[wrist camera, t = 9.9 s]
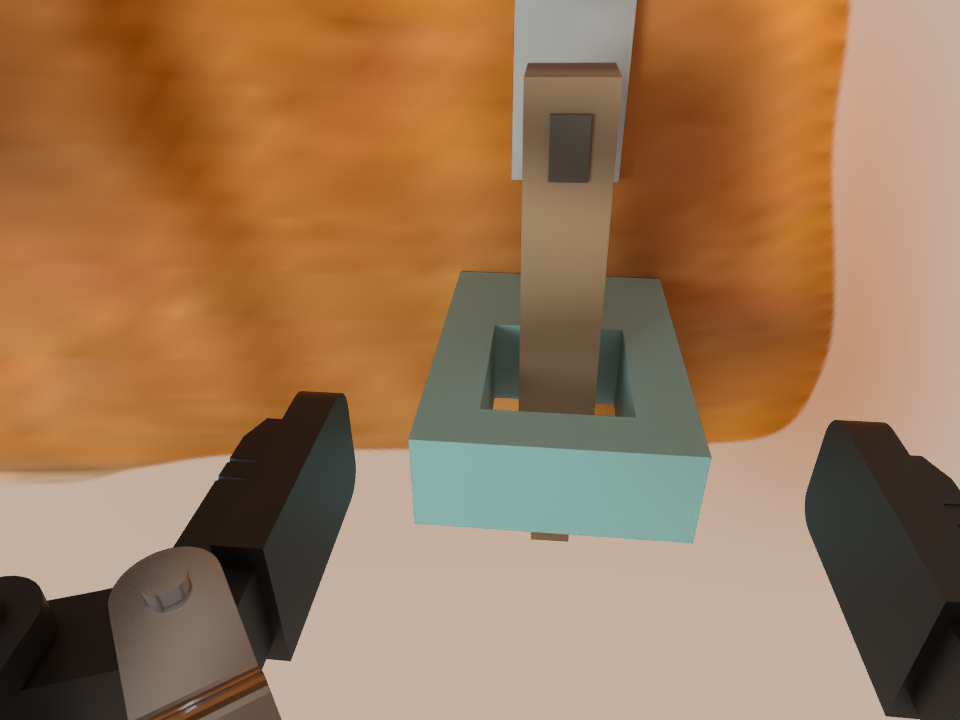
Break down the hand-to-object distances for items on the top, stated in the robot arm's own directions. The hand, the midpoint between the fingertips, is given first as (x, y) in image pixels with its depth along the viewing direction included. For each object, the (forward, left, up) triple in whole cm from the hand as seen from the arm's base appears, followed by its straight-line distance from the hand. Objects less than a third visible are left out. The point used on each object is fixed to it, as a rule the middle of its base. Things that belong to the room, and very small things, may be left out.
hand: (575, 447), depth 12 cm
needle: (+5, 0, -15) cm, 16 cm away
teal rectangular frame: (+7, 0, -20) cm, 21 cm away
